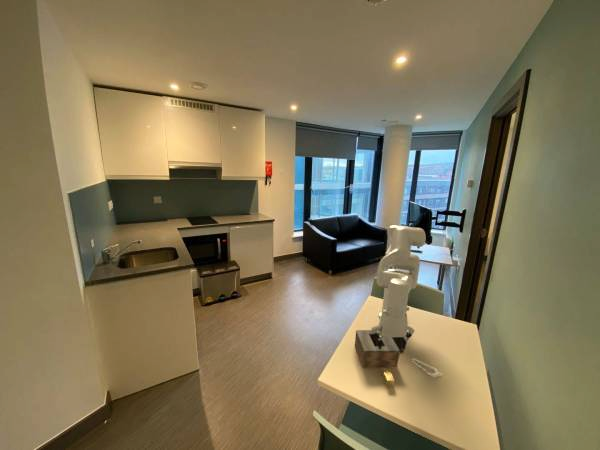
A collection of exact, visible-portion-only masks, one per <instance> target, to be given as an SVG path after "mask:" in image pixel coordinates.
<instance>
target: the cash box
mask: <svg viewBox="0 0 600 450" xmlns="http://www.w3.org/2000/svg"><path fill="white" fill-rule="evenodd" d="M379 331H380V330H378V331H376V333H378V332H379ZM381 335H382V334H381ZM381 335H380V336H381ZM376 341H377V338H376V337H375V336H374V334H373V332H372V330H371V329H356V330H355V340H354V347H355V350H356V352H357V355H358V359H359V361H360V365H361V366H362V368H363V369H366V368H367V369H369V368H370V369H371V368H375V369H376V368H379V369H380V368H381V369H385V368H398V364H399V360H400V359H399V358H400V353H401V352H400V350H399V349H398V347H397V345H396V344H395V342H394V340H393V339H392V337H384V338H383V339H382V348H381V349H379V347H378V346H377V345H376Z"/></svg>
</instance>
